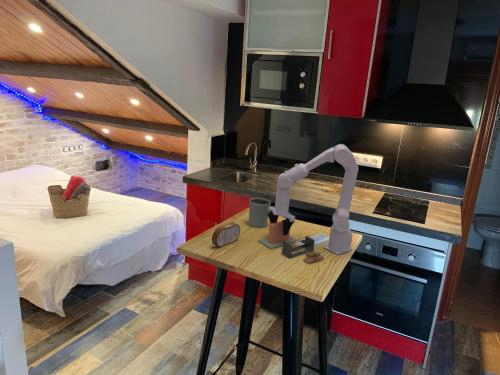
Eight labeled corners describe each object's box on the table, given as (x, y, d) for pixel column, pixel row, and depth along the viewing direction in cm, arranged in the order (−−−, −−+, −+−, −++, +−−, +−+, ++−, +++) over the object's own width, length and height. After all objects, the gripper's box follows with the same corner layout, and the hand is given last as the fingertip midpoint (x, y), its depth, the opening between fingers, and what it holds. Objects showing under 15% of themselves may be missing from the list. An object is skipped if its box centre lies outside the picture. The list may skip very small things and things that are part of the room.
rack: (305, 246, 157) (306, 235, 155) (313, 251, 153) (315, 240, 152) (281, 253, 149) (282, 242, 147) (289, 258, 145) (291, 246, 144)
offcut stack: (317, 257, 148) (318, 249, 147) (323, 260, 146) (324, 252, 145) (303, 261, 144) (304, 253, 143) (308, 265, 141) (309, 256, 140)
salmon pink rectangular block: (285, 237, 164) (286, 220, 162) (288, 239, 162) (290, 222, 160) (267, 241, 158) (269, 224, 156) (271, 243, 156) (273, 226, 154)
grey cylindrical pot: (245, 220, 181) (247, 197, 178) (265, 220, 184) (267, 197, 181) (250, 228, 172) (252, 204, 169) (271, 228, 174) (273, 204, 171)
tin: (235, 237, 161) (236, 219, 158) (240, 240, 159) (242, 221, 157) (210, 247, 149) (211, 228, 147) (216, 250, 147) (217, 230, 145)
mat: (285, 234, 168) (285, 233, 168) (298, 241, 162) (298, 240, 161) (257, 241, 158) (257, 240, 158) (270, 249, 152) (270, 247, 152)
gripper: (263, 198, 158) (261, 227, 162) (287, 208, 147) (283, 239, 151) (276, 196, 162) (273, 225, 166) (299, 205, 152) (296, 236, 155)
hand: (279, 232), depth 159 cm, fingers open, 7 cm apart
